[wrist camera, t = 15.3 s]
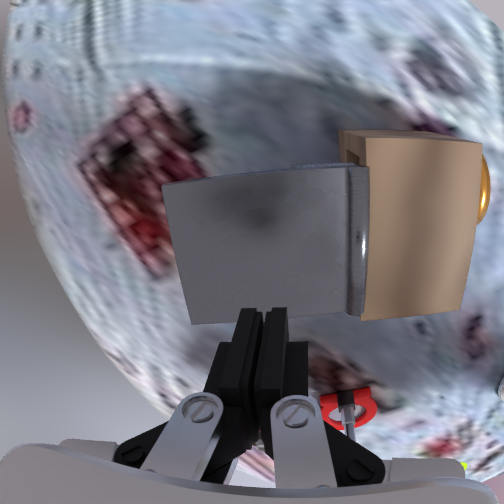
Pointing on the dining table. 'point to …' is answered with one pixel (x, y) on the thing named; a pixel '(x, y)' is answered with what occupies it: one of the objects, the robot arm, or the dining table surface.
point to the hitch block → (417, 218)
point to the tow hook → (348, 409)
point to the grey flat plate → (272, 241)
